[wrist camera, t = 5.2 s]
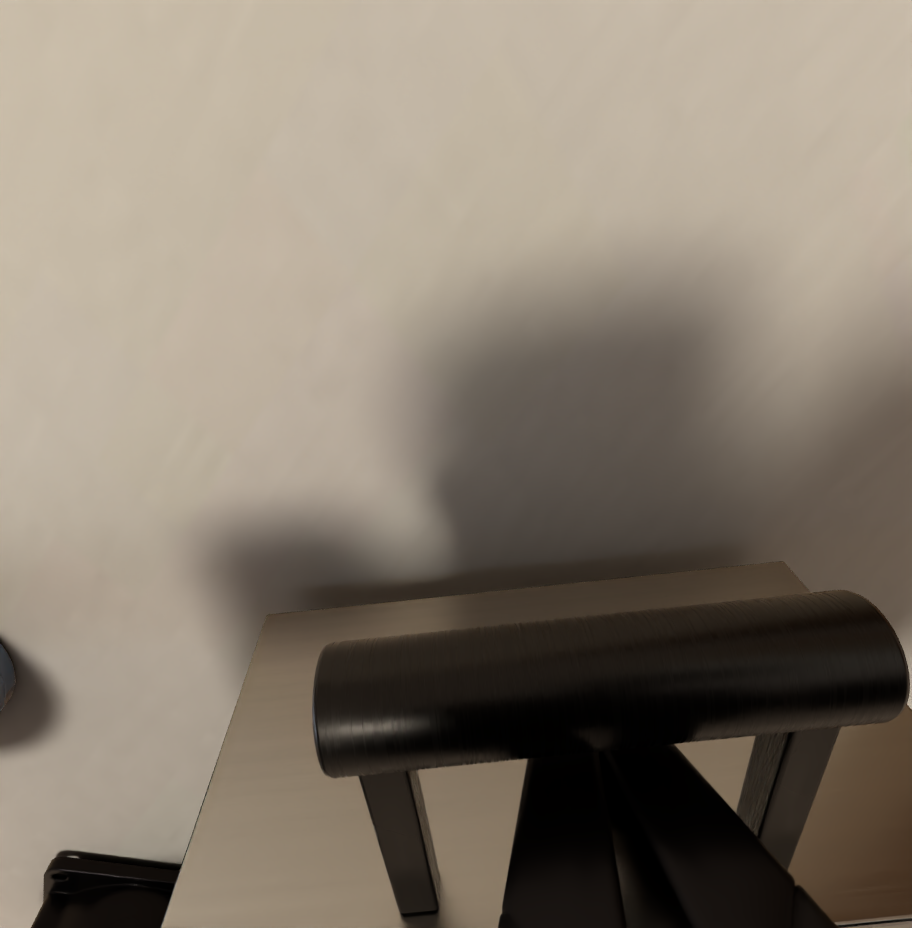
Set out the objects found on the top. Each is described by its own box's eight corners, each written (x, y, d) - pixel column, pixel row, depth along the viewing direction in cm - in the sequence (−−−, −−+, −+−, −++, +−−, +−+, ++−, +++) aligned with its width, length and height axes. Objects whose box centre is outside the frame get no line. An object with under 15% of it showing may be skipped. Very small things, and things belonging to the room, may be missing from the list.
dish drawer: (203, 434, 12) (-66, 782, 5) (830, 367, 11) (1323, 641, 5) (357, 873, 20) (325, 1205, 14) (717, 837, 20) (851, 1155, 14)
